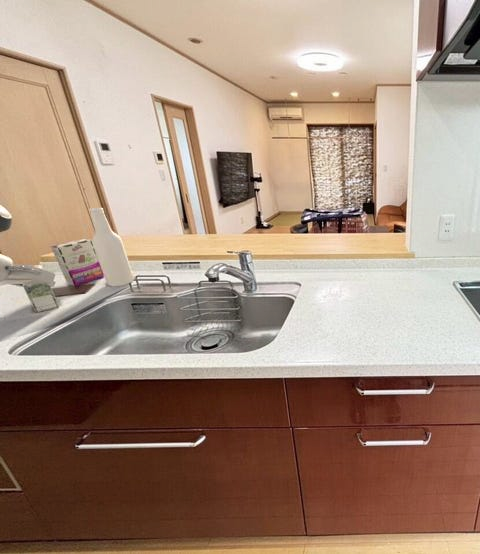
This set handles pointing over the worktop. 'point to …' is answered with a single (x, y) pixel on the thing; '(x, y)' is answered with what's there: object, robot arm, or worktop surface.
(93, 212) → the alcohol
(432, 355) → the worktop surface
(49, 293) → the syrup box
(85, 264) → the candy bar box
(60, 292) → the board
